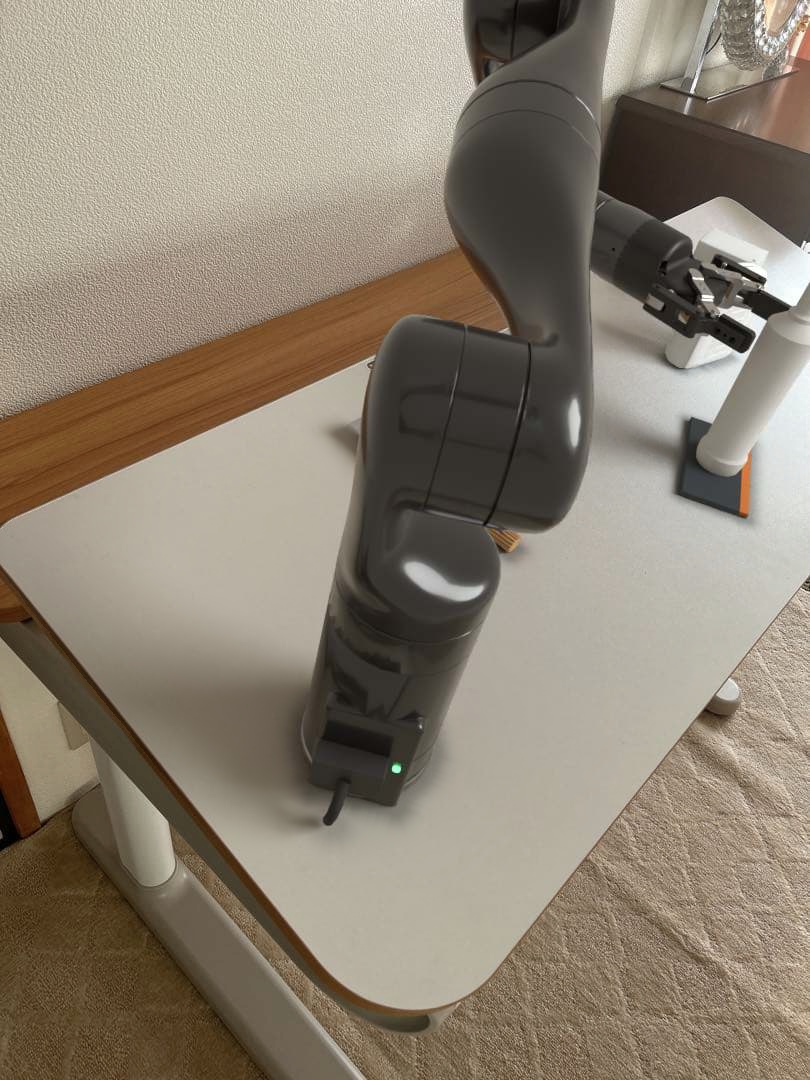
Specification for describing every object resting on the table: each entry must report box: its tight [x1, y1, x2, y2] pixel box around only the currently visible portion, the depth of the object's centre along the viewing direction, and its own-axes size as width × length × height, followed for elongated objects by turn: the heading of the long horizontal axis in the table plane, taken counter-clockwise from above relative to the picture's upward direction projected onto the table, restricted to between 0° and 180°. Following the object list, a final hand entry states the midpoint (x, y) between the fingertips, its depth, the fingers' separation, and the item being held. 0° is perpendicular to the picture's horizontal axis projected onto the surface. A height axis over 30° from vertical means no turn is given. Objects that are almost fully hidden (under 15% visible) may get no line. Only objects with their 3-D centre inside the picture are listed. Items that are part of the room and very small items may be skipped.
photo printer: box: [664, 262, 768, 370], centre depth 106 cm, size 10×4×12 cm, turn 126°
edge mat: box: [679, 416, 752, 519], centre depth 94 cm, size 14×7×1 cm, turn 162°
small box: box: [678, 227, 769, 320], centre depth 114 cm, size 8×6×10 cm
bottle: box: [696, 281, 810, 477], centre depth 85 cm, size 5×5×25 cm
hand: (770, 331), depth 84 cm, fingers open, 8 cm apart
